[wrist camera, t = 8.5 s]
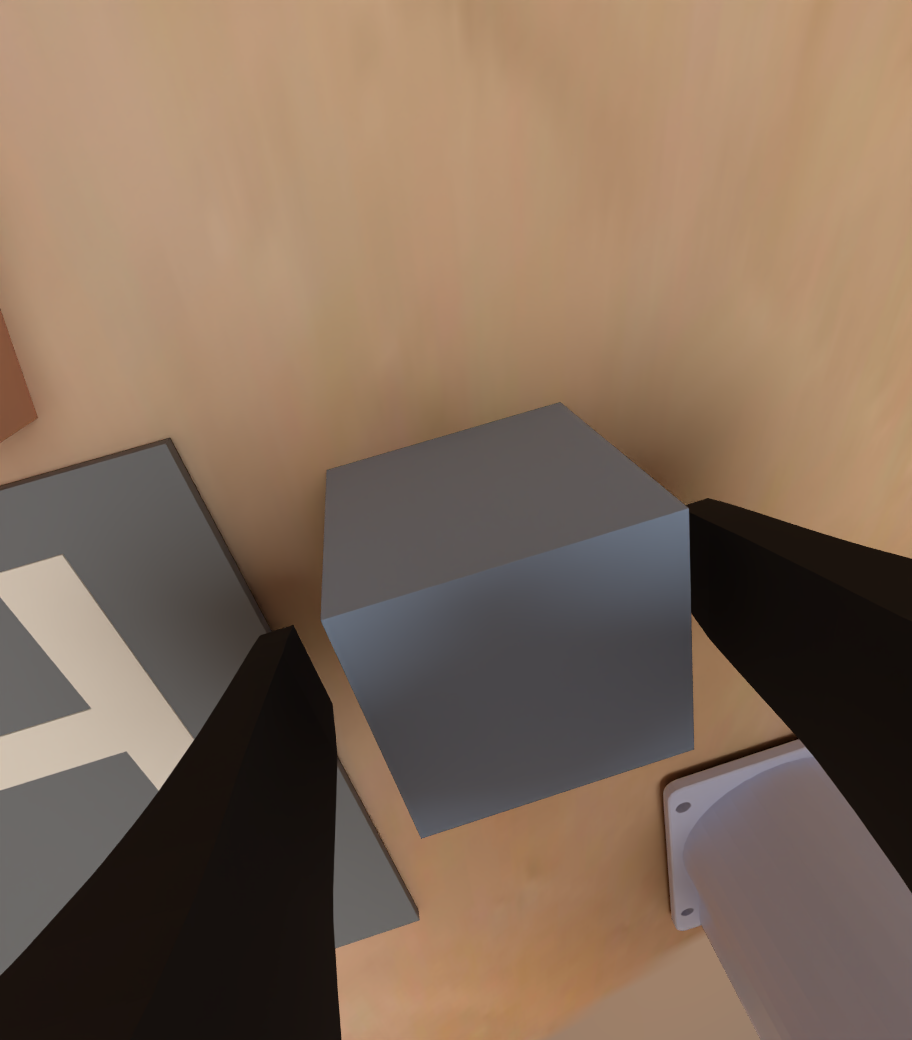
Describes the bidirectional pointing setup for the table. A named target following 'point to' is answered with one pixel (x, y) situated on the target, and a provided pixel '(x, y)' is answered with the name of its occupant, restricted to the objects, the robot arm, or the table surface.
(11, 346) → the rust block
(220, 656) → the letter mat
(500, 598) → the blue cube
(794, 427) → the table surface
